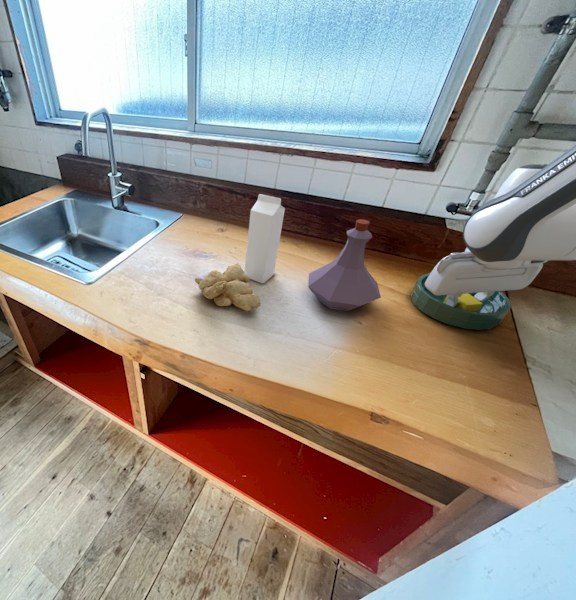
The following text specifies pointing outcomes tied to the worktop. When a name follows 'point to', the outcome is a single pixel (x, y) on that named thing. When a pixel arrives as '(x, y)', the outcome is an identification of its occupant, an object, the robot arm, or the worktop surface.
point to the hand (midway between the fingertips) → (462, 305)
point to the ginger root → (229, 288)
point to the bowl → (482, 319)
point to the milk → (263, 238)
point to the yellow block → (467, 303)
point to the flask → (346, 274)
